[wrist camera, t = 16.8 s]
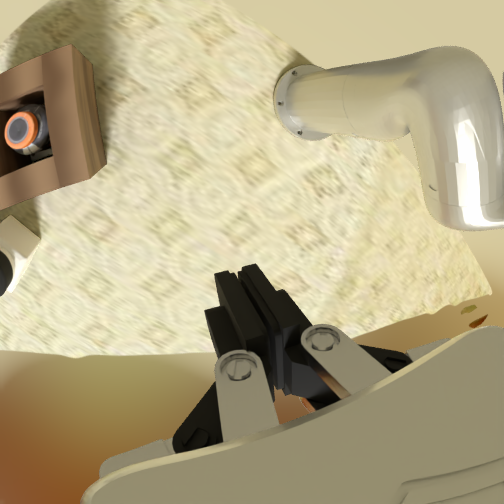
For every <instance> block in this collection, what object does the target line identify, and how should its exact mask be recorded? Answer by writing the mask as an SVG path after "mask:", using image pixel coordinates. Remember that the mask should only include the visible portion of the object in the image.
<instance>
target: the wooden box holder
mask: <svg viewBox="0 0 504 504" xmlns="http://www.w3.org/2000/svg"><path fill="white" fill-rule="evenodd" d="M29 104H39V105H43V104H45V108H46V116H47V123H48V129H49V136H50V141H51V147H52V152H53V156H51V157H48V158H46V159H43V160H40V161H38V162H35V163H32V162H31V157H30V154H29V155H23V154H19V153H17V152H16V151H15V150H14V149H13V148H12V147H10V146H9V145H8V144H7V142H6V139H5V127H6V124H7V122H8V121H9V119H10V118H11V117H12V116H13V115H14V114H15V113H16V112H17V111H18V110H19V109H20V108H22V107H24V106H26V105H29ZM106 164H107V163H106V158H105V153H104V147H103V142H102V136H101V130H100V124H99V117H98V110H97V103H96V95H95V86H94V77H93V66H92V64H91V63H90V62H89V61H88V60H87V59H86V58H85V57H84V56H83V55H82V54H81V53H80V52H79V51H78V50H77V49H76V48H75V47H74V46H73V45H72V44H69V45H66V46H63V47H61V48H58V49H55V50H53V51H50V52H47V53H45V54H42V55H40V56H38V57H35V58H33V59H31V60H28V61H26V62H24V63H22V64H20V65H18V66H15V67H13V68H11V69H9V70H7V71H5V72H3V73H1V74H0V210H2V209H5V208H7V207H10V206H12V205H15V204H17V203H20V202H23V201H25V200H28V199H31V198H33V197H36V196H39V195H42V194H45V193H47V192H50V191H53V190H56V189H59V188H62V187H65V186H68V185H72V184H75V183H78V182H81V181H85V180H88V179H90V178H91V177H93V176H94V175H95V174H96V173H97V172H98V171H99V170H100V169H101V168H103V167H104V166H105V165H106Z"/></svg>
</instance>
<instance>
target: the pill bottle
mask: <svg viewBox="0 0 504 504" xmlns="http://www.w3.org/2000/svg"><path fill="white" fill-rule="evenodd" d="M5 139H6V142H7V144H8V145H9V146H10V147H12V148H13V149H14V150H15V151H16V152H17V153H19V154H23V155H29V154H33V153H37V152H41V151H44V150H47V149H51V148H52V147H51V141H50V136H49V129H48V123H47V116H46V108H45V105H39V104H29V105H26V106H24V107H22V108H20V109H19V110H18V111H17V112H16V113H15V114H14V115H13V116H12V117H11V118H10V119H9V121H8V122H7V124H6V127H5Z"/></svg>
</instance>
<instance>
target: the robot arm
mask: <svg viewBox="0 0 504 504" xmlns="http://www.w3.org/2000/svg"><path fill="white" fill-rule="evenodd" d="M292 73H293V75H292ZM503 93H504V72H503ZM273 99H274V108H275V113H276V115H277V117H278V120H279V121H280V123H281V124H282V126H283V127H284V128H285V129H286V130H287V131H288V132H289V133H291V134H292V135H293V136H295V137H298V138H300V139H304V140H310V141H317V140H322V139H325V138H327V137H329V136H331V135H332V134H338V135H344V136H351V137H357V138H363V139H369V140H375V141H383V142H388V141H394V140H397V139H400V138H402V137H404V136H405V135H407V134H408V133H409V132H410V133H411V136H412V140H413V144H414V148H415V151H416V155H417V161H418V166H419V172H420V177H421V183H422V189H423V195H424V200H425V204H426V207H427V209H428V211H429V213H430V215H431V216H432V217H433V218H434V220H436V221H437V222H438V223H439V224H441V225H443V226H445V227H447V228H450V229H454V230H459V231H484V230H492V229H500V228H504V123H503V115H502V108H501V102H500V97H499V93H498V89H497V86H496V83H495V80H494V78H493V76H492V74H491V72H490V70H489V68H488V67H487V65H486V64H485V63H484V62H483V60H482V59H481V58H480V57H479V56H478V55H477V54H475V53H474V52H472V51H470V50H468V49H465V48H462V47H457V46H443V47H436V48H431V49H427V50H423V51H420V52H416V53H413V54H410V55H405V56H401V57H397V58H392V59H386V60H381V61H373V62H367V63H360V64H354V65H348V66H342V67H337V68H331V69H327V70H325V69H323V68H321V67H318V66H315V65H301V66H297V67H295V68H292V69H290V70H289V71H287V72H286V73H285V74H284V75H283V76H282V77H281V78H280V80H279V81H278V83H277V85H276V88H275V91H274V98H273ZM278 102H279V103H280V105H279V104H278ZM298 131H299V133H298ZM214 276H215V282H216V287H217V293H218V298H219V303H220V306H219V307H215V308H211V309H207V310H204V311H205V316H206V320H207V324H208V328H209V332H210V336H211V339H212V342H213V345H214V348H215V351H216V354H217V357H218V360H217V362H216V364H215V370H214V371H215V380H216V381H215V382H214V383H213V385H212V386H211V387H210V389H209V390H208V391H207V392H206V394H205V395H204V397H203V398H202V399H201V400H200V402H199V403H198V404H197V405H196V407H195V408H194V409H193V411H192V412H191V413H190V414H189V416H188V417H187V418H186V419H185V421H184V422H183V423H182V425H181V426H180V427H179V429H178V430H177V431H176V433H175V434H174V436H173V437H172V438H170V439H168V440H165V441H163V440H162V439H160V440H157V441H155V442H152V443H150V444H147V445H145V446H142V447H139V448H136V449H134V450H131V451H128V452H125V453H122V454H119V455H116V456H113V457H111V458H109V459H107V460H105V462H104V463H103V464H102V465H101V467H100V471H99V474H100V479H99V480H98V481H96V482H95V483H94V484H92V485H91V486H90V487H89V488H88V489H87V490H86V491H85V493H84V495H83V497H82V499H81V502H80V504H504V328H502V327H498V326H485V327H480V328H475V329H473V330H470V331H467V332H465V333H462V334H461V335H458V336H456V337H454V338H453V339H449V338H446V339H442V340H439V341H436V342H432V343H429V344H426V345H423V346H420V347H417V348H413V349H410V350H407V351H406V353H405V354H404V353H402V352H398V351H392V350H386V349H381V348H375V347H369V346H364V345H358V344H356V343H355V342H354V341H353V340H352V339H350V338H349V337H348V336H347V335H346V334H344V333H343V332H342V331H341V330H340V329H338V328H336V327H335V326H332V325H327V324H318V325H314V326H313V325H312V324H311V323H310V321H309V320H308V319H307V318H306V316H305V315H304V314H303V312H302V311H301V310H300V309H299V307H298V306H297V305H296V304H295V302H294V301H293V300H292V298H291V297H290V296H289V295H288V293H287V292H286V291H285V290H283V289H282V290H278V291H276V290H275V289H274V287H273V286H272V285H271V283H270V282H269V281H268V279H267V278H266V276H265V275H264V274H263V272H262V271H261V270H260V268H259V267H258V266H257V264H252V265H247V266H243V267H242V271H238V278H237V276H236V275H235V273H229V271H228V270H227V271H223V272H219V273H215V274H214ZM274 386H275V387H276V389H277V390H278V389H282V390H283V392H284V394H285V396H286V395H289V394H292V395H296V396H299V397H300V400H301V402H302V404H303V405H304V406H305V407H306V408H307V410H308V411H309V412H310V414H307V415H305V416H302V417H300V418H297V419H295V420H292V421H289V422H287V423H284V424H281V425H279V421H278V418H277V414H276V411H275V407H274V404H273V403H274V401H275V396H274Z"/></svg>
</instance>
